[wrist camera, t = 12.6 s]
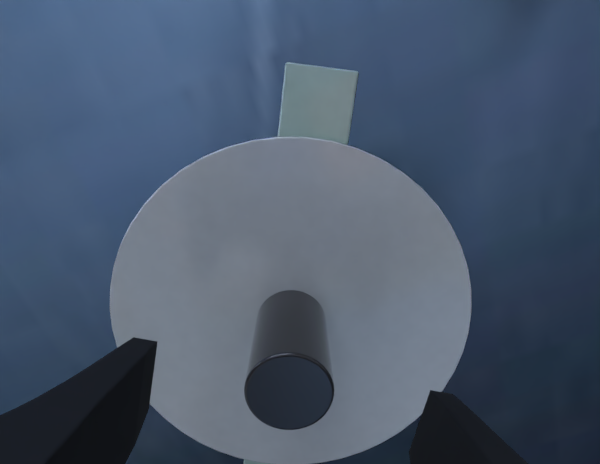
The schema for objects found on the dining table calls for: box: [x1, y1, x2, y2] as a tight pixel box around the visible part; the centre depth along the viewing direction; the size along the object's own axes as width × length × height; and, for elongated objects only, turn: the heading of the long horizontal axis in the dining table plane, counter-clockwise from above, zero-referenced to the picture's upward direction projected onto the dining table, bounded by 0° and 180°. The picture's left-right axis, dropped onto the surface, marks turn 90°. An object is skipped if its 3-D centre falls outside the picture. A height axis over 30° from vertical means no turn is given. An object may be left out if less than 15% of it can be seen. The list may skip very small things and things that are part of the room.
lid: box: [110, 136, 472, 464], centre depth 14 cm, size 13×13×5 cm
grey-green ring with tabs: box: [243, 62, 359, 464], centre depth 18 cm, size 12×17×4 cm
